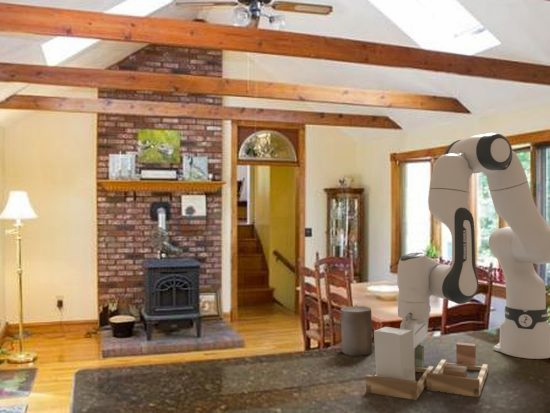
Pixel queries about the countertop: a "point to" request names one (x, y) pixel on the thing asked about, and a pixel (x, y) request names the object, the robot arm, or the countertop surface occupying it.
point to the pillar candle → (356, 330)
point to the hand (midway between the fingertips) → (414, 359)
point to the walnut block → (455, 370)
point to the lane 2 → (457, 383)
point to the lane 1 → (401, 381)
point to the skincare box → (394, 353)
